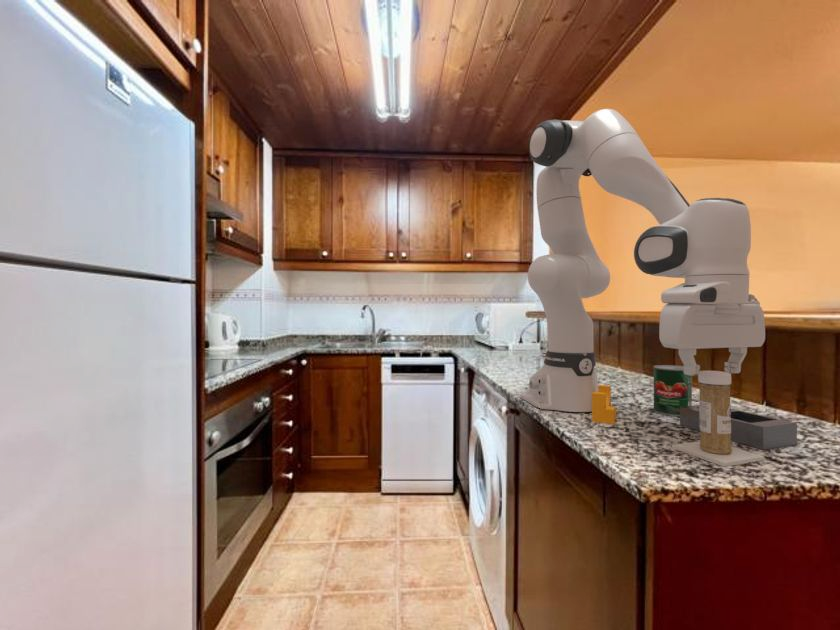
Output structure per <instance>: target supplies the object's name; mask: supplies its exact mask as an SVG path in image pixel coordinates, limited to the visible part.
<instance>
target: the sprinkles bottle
mask: <svg viewBox="0 0 840 630" xmlns="http://www.w3.org/2000/svg"><path fill="white" fill-rule="evenodd" d="M699 371H700V374H699V375H697V381H698V386H699V400H698V403H699V404H698V405H699V419H700V431H699V432H700V437H699V438H700V440H699V441H700V445H699V446H700V448H701V449H702V450H705V451H707V452H711V453H715V454H729V453H731V452H732V448H731V446H732V441H731V409H732V408H731V407H732V406H731V385H732V373H728V372H725V371H723V370H722V371H721V370H699Z"/></svg>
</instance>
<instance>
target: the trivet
mask: <svg viewBox="0 0 840 630" xmlns="http://www.w3.org/2000/svg"><path fill="white" fill-rule="evenodd" d="M699 445H700V440H699V441H693V442H692V441H691V442H683V443H676V444H675V443H674V444H672V445H671V446H672V449H674V450H677V451H679V452H682V453H685V454H687V455H690V456H693V457H696V458H698V459H702V460H705V461H707V462H710V463H713V464H715V465H718V466H721V467H725V468H726V467H731V466H736V465H744V464H750V463H757V462H760V461H761V462H762V460H763V461H765V457H766V456H764V455H761V454H758V453H754V452H751V451H748V450H744V449H741V448H738V447H734V446H732V445H731V448H732V452H731V453H729V454H715V453H711V452H707V451H705V450H702V449H701V448H700V446H699ZM756 461H757V462H756ZM749 462H750V463H749Z"/></svg>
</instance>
